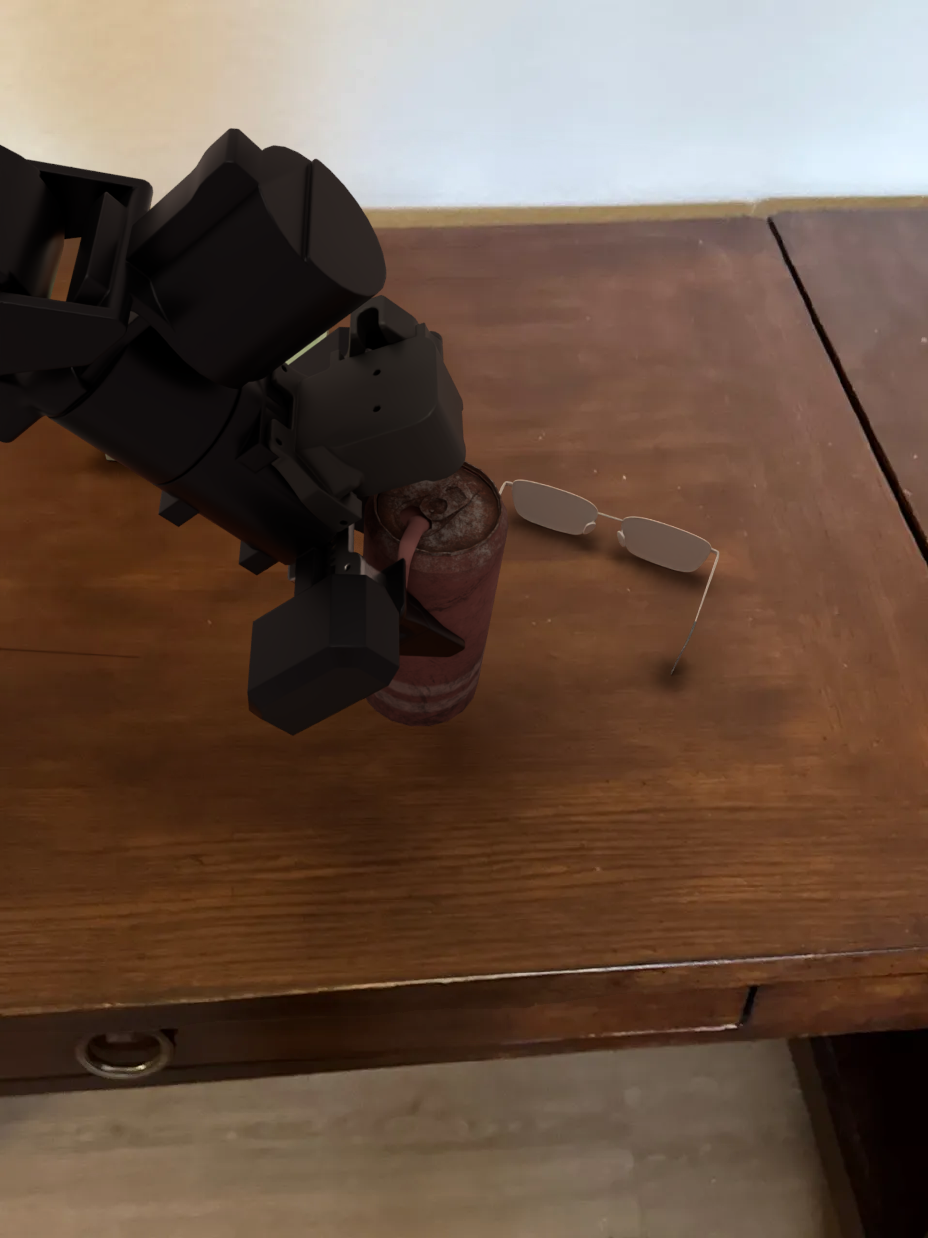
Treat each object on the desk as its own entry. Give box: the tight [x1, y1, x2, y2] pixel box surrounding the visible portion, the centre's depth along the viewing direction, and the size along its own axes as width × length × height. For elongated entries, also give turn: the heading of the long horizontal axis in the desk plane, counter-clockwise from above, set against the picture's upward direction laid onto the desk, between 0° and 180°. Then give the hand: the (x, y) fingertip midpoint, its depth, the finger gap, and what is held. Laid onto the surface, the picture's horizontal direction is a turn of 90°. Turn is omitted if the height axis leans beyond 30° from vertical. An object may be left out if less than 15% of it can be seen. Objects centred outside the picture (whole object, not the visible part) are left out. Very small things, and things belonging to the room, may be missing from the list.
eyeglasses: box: [498, 479, 720, 675], centre depth 73 cm, size 14×8×4 cm, turn 69°
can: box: [362, 460, 509, 727], centre depth 56 cm, size 6×6×14 cm
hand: (455, 604), depth 56 cm, fingers closed on can, 5 cm apart
